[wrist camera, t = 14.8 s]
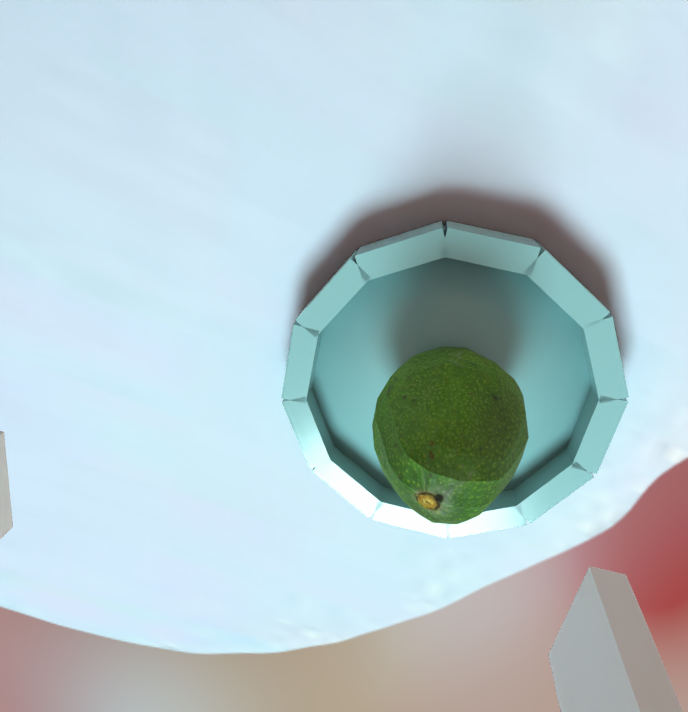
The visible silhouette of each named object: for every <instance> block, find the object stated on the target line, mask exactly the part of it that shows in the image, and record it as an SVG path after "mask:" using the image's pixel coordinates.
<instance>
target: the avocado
mask: <svg viewBox="0 0 688 712" xmlns="http://www.w3.org/2000/svg"><path fill="white" fill-rule="evenodd" d="M372 429H373V440H374V450H375V452H376V455H377V458H378V460H379V463H380V466H381V468H382V471H383V473H384V474H385V476H386V478H387V479H388V481H389V482H390V484H391V485H392V487H393V488H394V490H395V491H396V493H397V494H398V495H399V497H400V498H401V499H402V501H403V502H405V503H406V504H407V505H408V506H409V507H410V508H411V509H412V510H414V511H415V512H416V513H418V514H419V515H420V516H422V517H424V518H425V519H427V520H429V521H430V522H432V523H442V524H460V523H463V522H466V521H468V520H470V519H472V518H474V517H477V516H479V515H480V514H481V513H482V512H483V511H484V510H485V509H486V508H487V507H488V506H489V505H490V504H491V503H492V502H493V501H494V500H495V499H496V498H497V496H498V495H499V494H500V493H501V492H502V491H503V489H504V488H505V487H506V486H507V484H508V483H509V482H510V480H511V479H512V478H513V476H514V474H515V472H516V470H517V468H518V465H519V463H520V461H521V459H522V456H523V453H524V450H525V447H526V444H527V441H528V438H529V436H528V427H527V419H526V411H525V404H524V397H523V394H522V392H521V390H520V387H519V386H518V384H517V383H516V381H515V380H514V378H512V377H511V376H510V375H509V374H508V373H507V372H506V371H504V370H503V369H502V368H501V367H500V366H499V365H498V364H496V363H495V362H493V361H491V360H489V359H488V358H486V357H484V356H482V355H480V354H478V353H476V352H474V351H472V350H470V349H468V348H463V347H443V346H442V347H438V348H435V349H431V350H428V351H424V352H421V353H419V354H416V355H414V356H413V357H411V358H410V359H409V360H408V361H406V362H405V363H404V364H403V365H402V366H401V367H400V368H398V369H397V371H396V372H395V373H394V374H393V375H392V376H391V377H390V378H389V380H388V382H387V383H386V385H385V387H384V388H383V390H382V392H381V393H380V395H379V397H378V398H377V403H376V408H375V413H374V418H373V424H372Z"/></svg>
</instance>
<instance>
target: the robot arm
mask: <svg viewBox="0 0 688 712" xmlns="http://www.w3.org/2000/svg"><path fill="white" fill-rule="evenodd" d="M12 527H13V522H12V512H11V501H10V491H9V480H8V470H7V459H6V449H5V438H4V432H2V431H0V539H1V538H2V537H3V536H4V535H5V534H6V533H7V532H8V531H9V530H10V529H11V528H12ZM548 655H549V660H550V665H551V669H552V674H553V678H554V683H555V688H556V692H557V697H558V702H559V706H560V711H561V712H683V710H682V707H681V705H680V702H679V700H678V698H677V696H676V693H675V691H674V688H673V686H672V683H671V681H670V679H669V676H668V674H667V671H666V669H665V667H664V664H663V662H662V660H661V657H660V655H659V652H658V650H657V648H656V645H655V643H654V641H653V638H652V636H651V633H650V631H649V628H648V626H647V624H646V621H645V619H644V617H643V614H642V612H641V609H640V607H639V605H638V602H637V600H636V597H635V595H634V593H633V590H632V588H631V586H630V583H629V581H628V578H627V576H626V575H625V574H621V573H616V572H612V571H608V570H603V569H599V568H595V567H589V569H588V571H587V573H586V575H585V577H584V579H583V582H582V584H581V586H580V588H579V590H578V593H577V594H576V597H575V599H574V601H573V603H572V605H571V607H570V609H569V611H568V614H567V616H566V618H565V620H564V622H563V624H562V627H561V628H560V631H559V633H558V635H557V637H556V640H555V641H554V643H553V646H552V648H551V650H550V652H549V654H548Z"/></svg>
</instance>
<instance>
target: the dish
mask: <svg viewBox="0 0 688 712" xmlns="http://www.w3.org/2000/svg"><path fill="white" fill-rule="evenodd" d="M295 321H296V322H295V323H294V324H293V330H292V337H291V343H290V349H289V355H288V361H287V367H286V374H285V380H284V386H283V392H282V398H284V400H283V401H282V403H283V406H284V408H285V410H286V413H287V415H288V418H289V420H290V423H291V425H292V427H293V430H294V432H295V435H296V437H297V439H298V442H299V444H300V447H301V449H302V452H303V454H304V456H305V459H306V461H307V464H308V466H309V468H313V467H314V468H313V470H312V472H313V473H314V474H315V475H317V476H318V477H319V478H320V479H322V480H323V481H324V482H325V483H326V484H328V485H329V486H330V487H331V488H333V489H334V490H335V491H336V492H337V493H339V494H340V495H341V496H342V497H344V498H345V499H346V500H347V501H349V502H350V503H351V504H352V505H353V506H355V507H356V508H357V509H358V510H360V511H361V512H362V513H363V514H364V515H366V516H367V517H368V518H369V517H370V516H371V515H372V514H373V519H372V520H375V521H379V522H383V523H387V524H391V525H395V526H399V527H403V528H407V529H411V530H415V531H419V532H423V533H427V534H431V535H435V536H439V537H443V538H446V536H447V533H449V536H450V538H455V537H461V536H466V535H472V534H478V533H483V532H489V531H494V530H500V529H506V528H511V527H517V526H523V525H526V520H525V519H527V520H528V521H529V522H530V523H532V522H533V521H534V520H536V519H537V518H538V517H540V516H541V515H543V514H544V513H545V512H547V511H548V510H549V509H551V508H552V507H554V506H555V505H556V504H558V503H559V502H560V501H562V500H563V499H564V498H566V497H567V496H569V495H570V494H571V493H573V492H574V491H575V490H577V489H578V488H580V487H581V486H582V485H584V484H585V483H586V482H588V481H589V480H591V479H592V478H593V477H594V476H593V474H592V473H596V474H597V472H598V470H599V467H600V465H601V463H602V460H603V458H604V456H605V454H606V451H607V449H608V447H609V444H610V442H611V440H612V438H613V435H614V433H615V431H616V428H617V426H618V424H619V421H620V419H621V417H622V415H623V412H624V410H625V408H626V405H627V403H628V401H627V400H626V398H627V397H628V392H627V387H626V381H625V376H624V371H623V366H622V361H621V356H620V351H619V346H618V341H617V336H616V331H615V326H614V321H613V317H612V316H611V315H610V312H609V311H608V310H607V308H606V307H605V306H604V305H603V304H602V303H601V302H600V301H599V300H598V299H597V298H596V297H595V296H594V295H593V294H592V293H591V292H590V291H589V290H588V289H587V288H586V287H585V286H584V285H583V284H581V283H580V282H579V281H578V280H577V279H576V278H575V277H574V276H573V275H572V274H571V273H570V272H569V271H568V270H567V269H566V268H565V267H564V266H563V265H562V264H561V263H560V262H559V261H558V260H557V259H555V258H554V257H553V256H552V255H551V254H550V253H549V252H548V251H547V250H546V249H545V248H544V247H543V246H542V245H541V244H540V243H539V242H538V241H537V242H535V241H534V239H531V238H527V237H522V236H517V235H513V234H508V233H503V232H499V231H494V230H489V229H485V228H480V227H475V226H471V225H466V224H461V223H457V222H452V221H447V222H446V226H443V223H442V221H439V222H436V223H433V224H430V225H427V226H423V227H420V228H417V229H414V230H411V231H408V232H405V233H402V234H399V235H395V236H392V237H389V238H386V239H383V240H380V241H377V242H374V243H371V244H368V245H364V246H361V247H360V248H359V250H358V251H357V250H355V251H354V253H353V254H352V255H351V256H350V257H349V258H348V259H347V260H346V262H345V263H344V264H343V265H342V266H341V267H340V268H339V269H338V271H337V272H336V273H335V274H334V275H333V276H332V277H331V278H330V280H329V281H328V282H327V283H326V284H325V285H324V286H323V287H322V289H321V290H320V291H319V292H318V293H317V294H316V295H315V296H314V298H313V299H312V300H311V301H310V302H309V303H308V304H307V306H306V307H305V308H304V309H303V311H302V312H301V313H300V315H299V316H298V318H297V319H296V320H295ZM442 346H443V347H463V348H468V349H470V350H472V351H474V352H476V353H478V354H480V355H482V356H484V357H486V358H488V359H489V360H491V361H493V362H495V363H496V364H498V365H499V366H500V367H501V368H502V369H503V370H504V371H506V372H507V373H508V374H509V375H510V376H511V377H512V378H514V380H515V381H516V383H517V384H518V386H519V387H520V390H521V392H522V394H523V397H524V404H525V411H526V419H527V427H528V436H529V438H528V441H527V444H526V447H525V450H524V453H523V456H522V459H521V461H520V463H519V465H518V468H517V470H516V472H515V474H514V476H513V478H512V479H511V480H510V482H509V483H508V484H507V486H506V487H505V488H504V489H503V491H502V492H501V493H500V494H499V495H498V496H497V498H496V499H495V500H494V501H493V502H492V503H491V504H490V505H489V506H488V507H487V508H486V509H485V510H484V511H483V512H482V513H481V514H480V515H479V516H477V517H474V518H472V519H470V520H468V521H466V522H463V523H460V524H442V523H432V522H430V521H429V520H427V519H425V518H424V517H422V516H420V515H419V514H418V513H416V512H415V511H414V510H412V509H411V508H410V507H409V506H408V505H407V504H406V503H405V502H403V501H402V499H401V498H400V497H399V495H398V494H397V493H396V491H395V490H394V488H393V487H392V485H391V484H390V482H389V481H388V479H387V478H386V476H385V474H384V473H383V471H382V468H381V466H380V463H379V460H378V458H377V455H376V452H375V450H374V440H373V429H372V424H373V418H374V413H375V408H376V403H377V398H378V397H379V395H380V393H381V392H382V390H383V388H384V387H385V385H386V383H387V382H388V380H389V378H390V377H391V376H392V375H393V374H394V373H395V372H396V371H397V369H398V368H400V367H401V366H402V365H403V364H404V363H405V362H406V361H408V360H409V359H410V358H411V357H413V356H414V355H416V354H419V353H421V352H424V351H428V350H431V349H435V348H438V347H442Z"/></svg>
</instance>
